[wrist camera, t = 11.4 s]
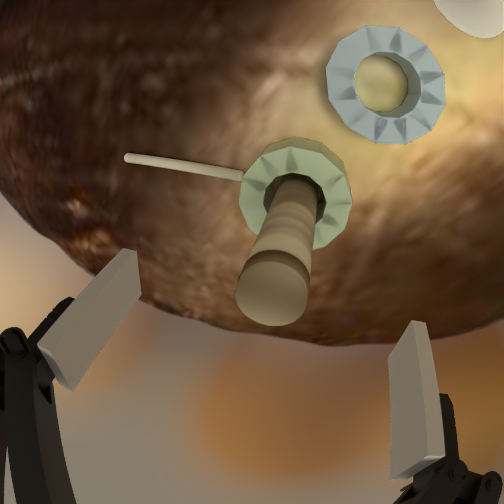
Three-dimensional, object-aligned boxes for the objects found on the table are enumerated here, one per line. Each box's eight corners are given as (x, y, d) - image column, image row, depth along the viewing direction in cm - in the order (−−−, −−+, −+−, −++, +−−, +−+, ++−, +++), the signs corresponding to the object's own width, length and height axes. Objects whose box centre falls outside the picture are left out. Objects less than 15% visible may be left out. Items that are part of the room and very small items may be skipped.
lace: (127, 151, 30) (122, 153, 29) (246, 170, 29) (244, 173, 28) (127, 160, 31) (122, 163, 30) (245, 180, 29) (242, 183, 29)
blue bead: (321, 33, 21) (320, 25, 17) (425, 37, 18) (440, 32, 15) (330, 134, 25) (331, 143, 22) (430, 137, 23) (445, 147, 20)
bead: (257, 129, 27) (247, 137, 23) (358, 151, 26) (363, 163, 22) (245, 218, 31) (234, 238, 28) (334, 239, 30) (334, 261, 27)
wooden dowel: (283, 164, 28) (238, 260, 14) (322, 173, 27) (315, 279, 14) (276, 200, 30) (230, 316, 16) (314, 208, 29) (297, 333, 16)
